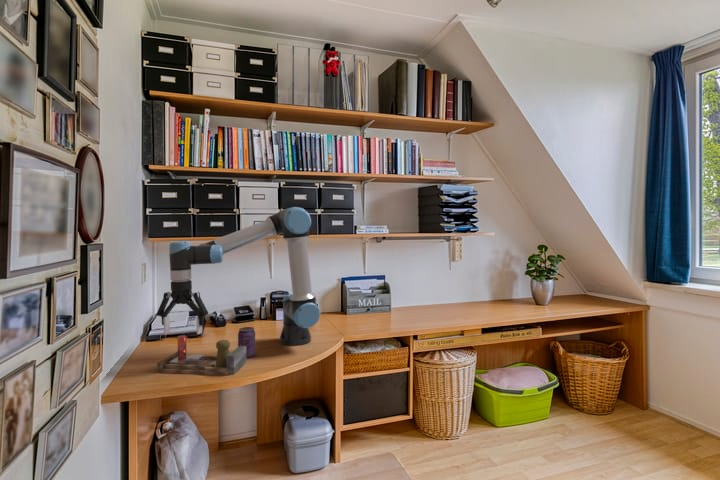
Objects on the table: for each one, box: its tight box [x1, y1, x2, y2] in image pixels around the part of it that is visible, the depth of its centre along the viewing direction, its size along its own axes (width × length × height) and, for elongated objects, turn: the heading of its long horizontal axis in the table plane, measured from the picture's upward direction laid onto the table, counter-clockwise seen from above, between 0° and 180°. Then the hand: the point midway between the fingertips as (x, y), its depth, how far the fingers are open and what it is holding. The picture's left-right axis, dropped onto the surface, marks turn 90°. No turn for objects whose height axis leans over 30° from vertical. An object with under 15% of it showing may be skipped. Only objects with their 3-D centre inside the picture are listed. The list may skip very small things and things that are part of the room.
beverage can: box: [237, 326, 256, 359], centre depth 164 cm, size 7×7×12 cm
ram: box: [169, 334, 205, 365], centre depth 152 cm, size 11×8×11 cm
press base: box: [156, 346, 247, 376], centre depth 151 cm, size 30×14×7 cm, turn 85°
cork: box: [215, 339, 231, 368], centre depth 150 cm, size 6×6×11 cm
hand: (183, 333), depth 152 cm, fingers open, 13 cm apart
